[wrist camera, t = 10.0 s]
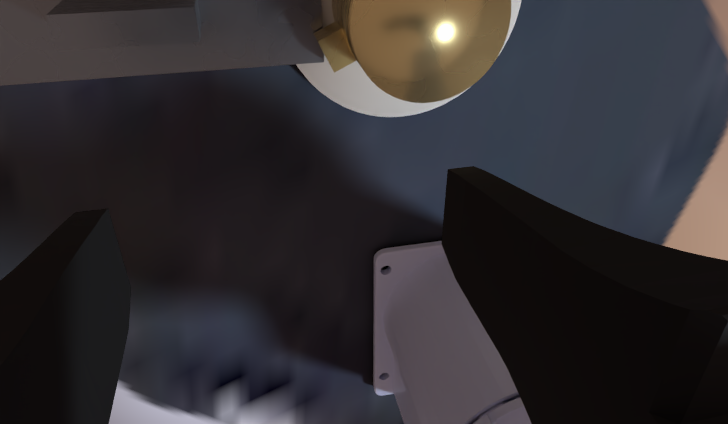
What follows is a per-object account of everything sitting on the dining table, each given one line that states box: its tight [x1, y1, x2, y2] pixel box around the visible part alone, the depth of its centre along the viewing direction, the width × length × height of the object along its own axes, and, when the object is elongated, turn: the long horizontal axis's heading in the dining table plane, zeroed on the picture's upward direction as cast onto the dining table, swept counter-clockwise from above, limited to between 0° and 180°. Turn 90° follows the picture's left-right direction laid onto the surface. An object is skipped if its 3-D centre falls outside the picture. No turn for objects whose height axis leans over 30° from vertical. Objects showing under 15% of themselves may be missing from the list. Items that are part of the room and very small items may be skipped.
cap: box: [313, 0, 511, 103], centre depth 19 cm, size 7×5×4 cm
